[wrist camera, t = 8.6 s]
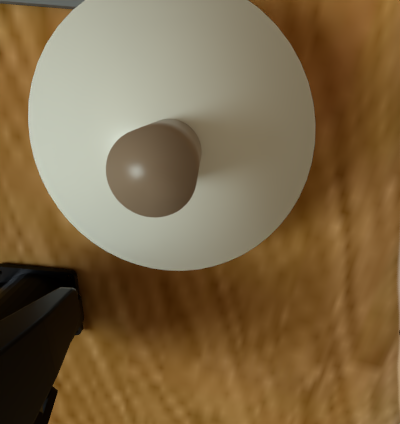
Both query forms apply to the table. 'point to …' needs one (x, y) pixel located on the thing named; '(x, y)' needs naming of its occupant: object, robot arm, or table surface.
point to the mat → (46, 3)
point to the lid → (172, 128)
